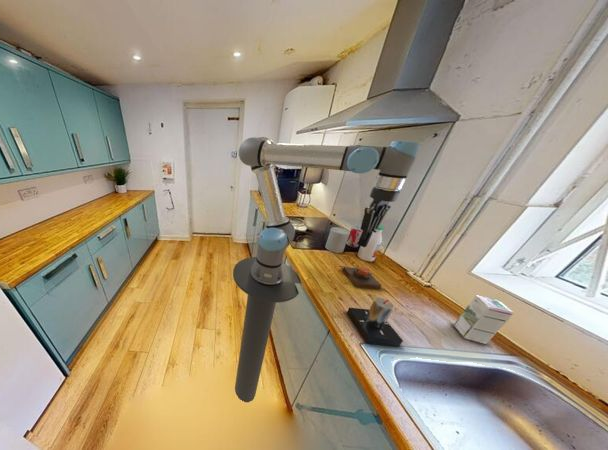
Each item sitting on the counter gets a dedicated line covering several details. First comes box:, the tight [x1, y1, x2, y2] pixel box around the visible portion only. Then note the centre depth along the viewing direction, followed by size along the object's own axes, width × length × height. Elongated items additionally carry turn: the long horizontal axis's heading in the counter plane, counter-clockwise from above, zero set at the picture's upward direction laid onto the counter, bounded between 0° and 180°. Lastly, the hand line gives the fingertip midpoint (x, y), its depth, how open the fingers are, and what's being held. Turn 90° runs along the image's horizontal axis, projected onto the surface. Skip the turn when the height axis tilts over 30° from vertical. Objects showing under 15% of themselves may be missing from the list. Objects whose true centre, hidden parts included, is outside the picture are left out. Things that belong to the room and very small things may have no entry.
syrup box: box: [453, 294, 515, 345], centre depth 65 cm, size 6×6×14 cm
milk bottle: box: [357, 224, 385, 262], centre depth 106 cm, size 8×8×20 cm
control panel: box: [346, 307, 404, 348], centre depth 68 cm, size 12×10×3 cm
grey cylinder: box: [324, 226, 350, 254], centre depth 116 cm, size 10×10×12 cm
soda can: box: [346, 226, 363, 248], centre depth 120 cm, size 6×6×12 cm
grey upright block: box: [365, 297, 395, 329], centre depth 66 cm, size 5×5×9 cm
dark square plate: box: [342, 266, 382, 290], centre depth 93 cm, size 12×10×4 cm
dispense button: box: [357, 266, 370, 276], centre depth 91 cm, size 4×4×2 cm
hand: (361, 245), depth 80 cm, fingers closed
